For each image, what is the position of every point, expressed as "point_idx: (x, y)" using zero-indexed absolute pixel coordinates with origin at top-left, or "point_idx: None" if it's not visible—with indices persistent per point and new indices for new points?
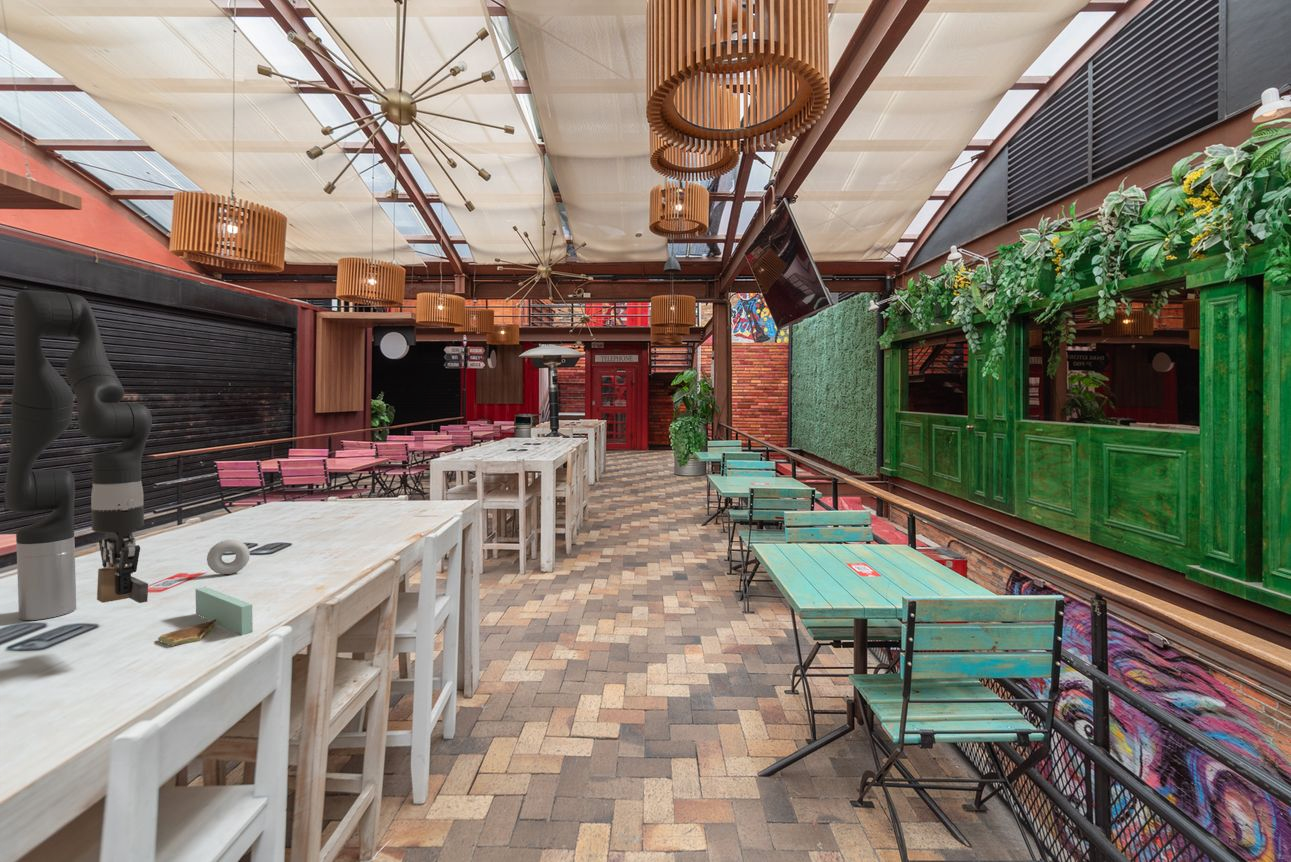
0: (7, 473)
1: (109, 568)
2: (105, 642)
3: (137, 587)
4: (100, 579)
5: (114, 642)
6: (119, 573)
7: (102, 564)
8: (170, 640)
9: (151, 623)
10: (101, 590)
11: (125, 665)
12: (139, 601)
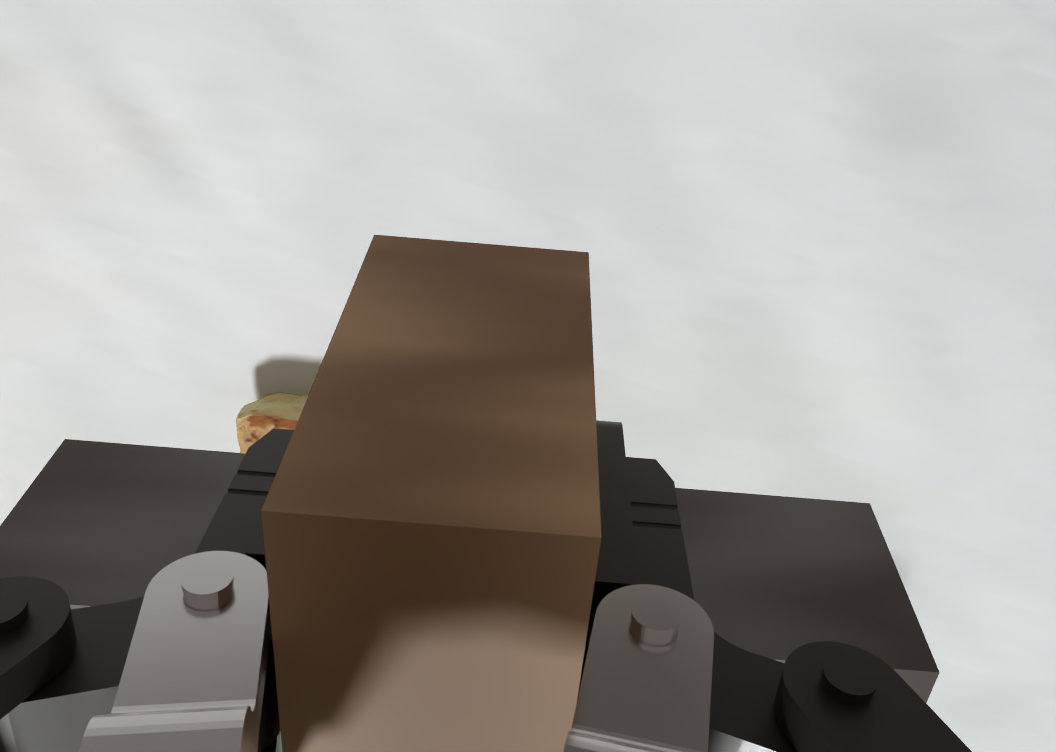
0: None
1: (474, 636)
2: (803, 212)
3: (78, 565)
4: (464, 410)
5: (737, 244)
6: (11, 596)
7: (865, 679)
8: (289, 415)
9: (904, 518)
10: (414, 314)
11: (129, 87)
12: (58, 450)
